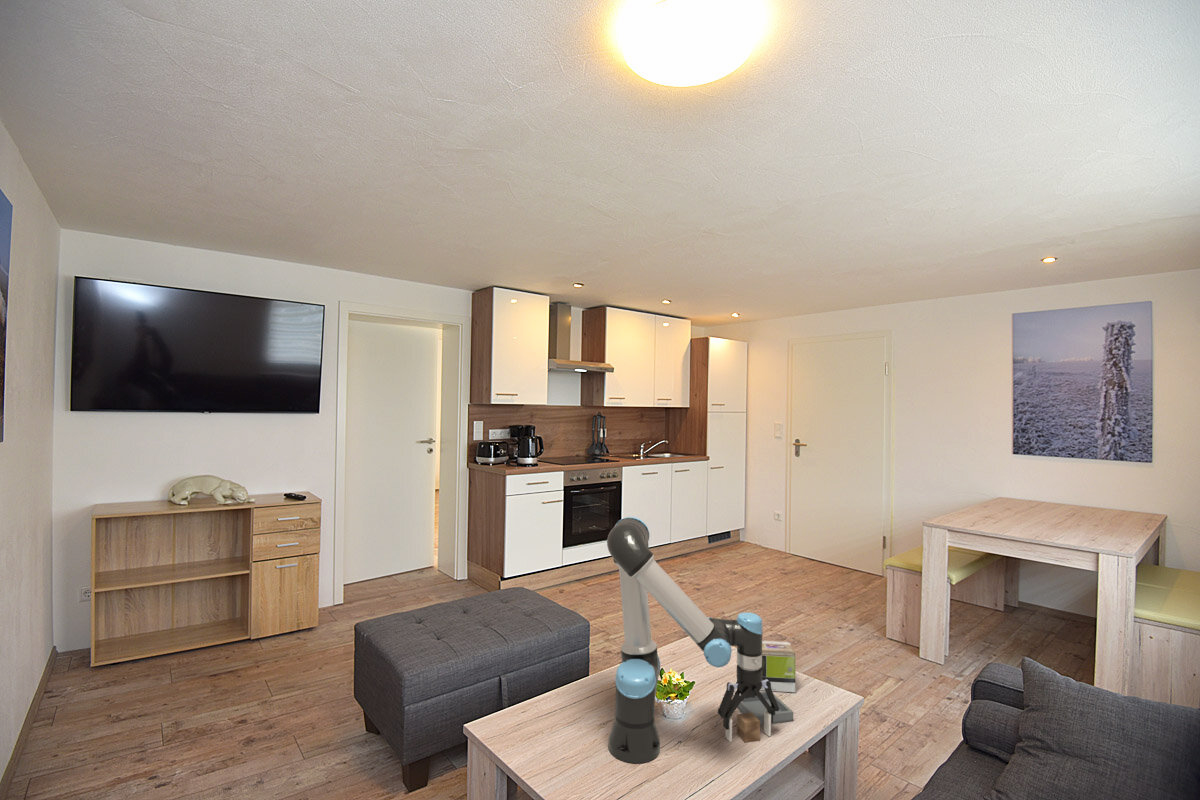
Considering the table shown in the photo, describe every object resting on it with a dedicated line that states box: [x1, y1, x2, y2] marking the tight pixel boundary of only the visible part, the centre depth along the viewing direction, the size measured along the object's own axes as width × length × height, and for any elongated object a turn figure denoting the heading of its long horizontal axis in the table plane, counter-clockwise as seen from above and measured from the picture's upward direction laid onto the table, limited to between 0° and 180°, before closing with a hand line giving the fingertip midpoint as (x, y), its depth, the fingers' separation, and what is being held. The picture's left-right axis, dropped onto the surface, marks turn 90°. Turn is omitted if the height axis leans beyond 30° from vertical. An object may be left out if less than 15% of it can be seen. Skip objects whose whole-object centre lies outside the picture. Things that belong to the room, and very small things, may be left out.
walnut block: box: [736, 712, 761, 743], centre depth 172 cm, size 5×5×6 cm
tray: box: [732, 690, 794, 726], centre depth 186 cm, size 14×14×3 cm
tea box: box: [760, 639, 797, 693], centre depth 205 cm, size 15×10×15 cm
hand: (748, 736), depth 172 cm, fingers open, 12 cm apart
